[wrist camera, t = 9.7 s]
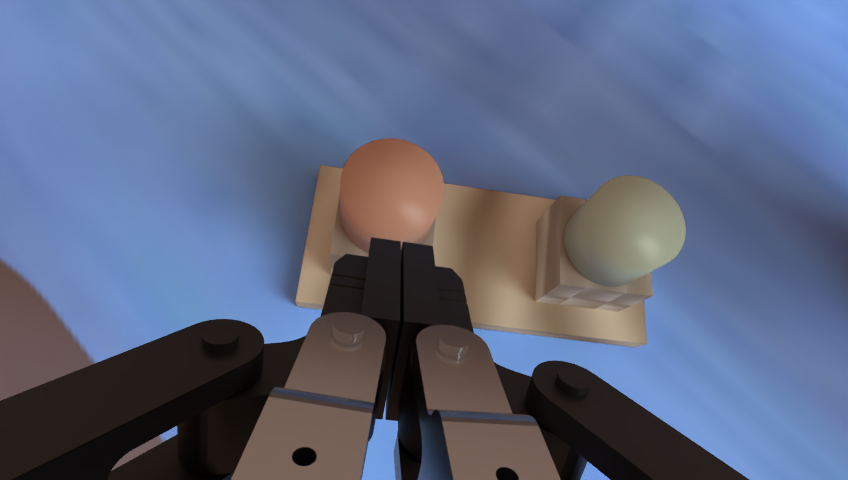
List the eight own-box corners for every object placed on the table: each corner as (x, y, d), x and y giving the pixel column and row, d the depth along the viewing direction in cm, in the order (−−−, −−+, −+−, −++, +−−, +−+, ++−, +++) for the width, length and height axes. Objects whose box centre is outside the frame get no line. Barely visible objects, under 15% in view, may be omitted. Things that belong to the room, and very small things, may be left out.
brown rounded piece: (429, 197, 36) (447, 146, 30) (421, 275, 34) (440, 239, 28) (346, 185, 36) (348, 131, 29) (334, 264, 34) (332, 224, 27)
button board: (628, 219, 42) (672, 185, 36) (635, 347, 38) (685, 331, 33) (320, 174, 39) (317, 131, 34) (297, 306, 36) (289, 282, 30)
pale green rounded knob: (624, 225, 38) (681, 183, 31) (628, 302, 36) (689, 273, 29) (548, 214, 37) (590, 168, 31) (547, 292, 35) (592, 260, 29)
